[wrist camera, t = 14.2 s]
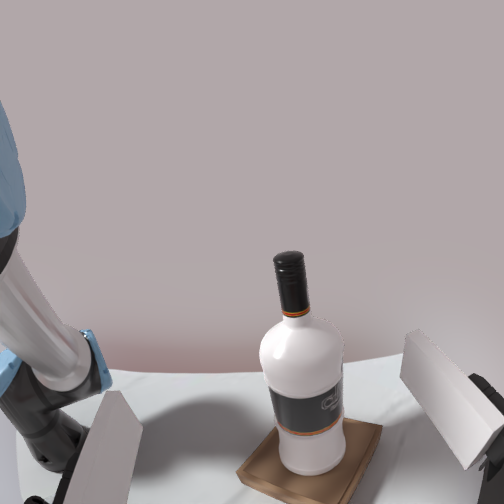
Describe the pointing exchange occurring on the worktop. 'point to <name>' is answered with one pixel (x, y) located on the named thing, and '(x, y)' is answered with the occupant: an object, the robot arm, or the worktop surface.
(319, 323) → the vodka
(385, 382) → the worktop surface
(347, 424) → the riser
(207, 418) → the worktop surface
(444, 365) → the robot arm
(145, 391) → the worktop surface
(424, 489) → the worktop surface
